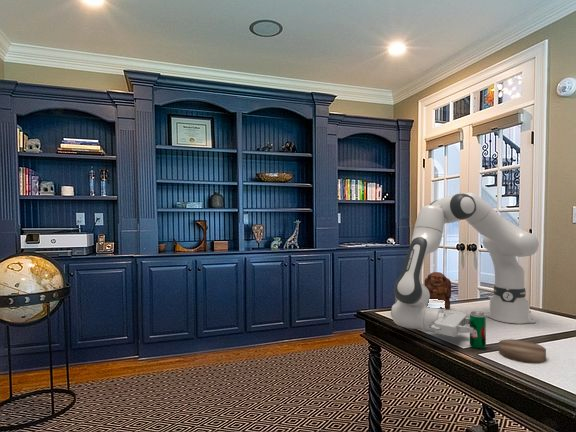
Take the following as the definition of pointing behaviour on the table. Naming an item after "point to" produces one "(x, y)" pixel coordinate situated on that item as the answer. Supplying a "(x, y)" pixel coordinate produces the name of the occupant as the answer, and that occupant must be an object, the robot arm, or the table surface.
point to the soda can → (478, 330)
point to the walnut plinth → (522, 351)
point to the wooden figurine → (439, 287)
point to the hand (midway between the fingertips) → (476, 326)
